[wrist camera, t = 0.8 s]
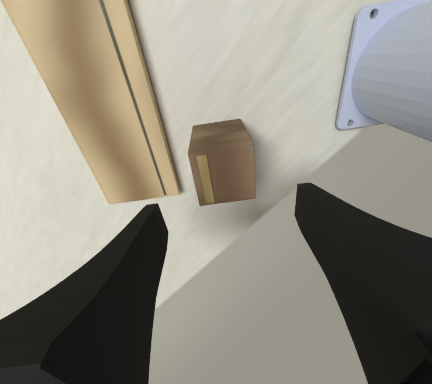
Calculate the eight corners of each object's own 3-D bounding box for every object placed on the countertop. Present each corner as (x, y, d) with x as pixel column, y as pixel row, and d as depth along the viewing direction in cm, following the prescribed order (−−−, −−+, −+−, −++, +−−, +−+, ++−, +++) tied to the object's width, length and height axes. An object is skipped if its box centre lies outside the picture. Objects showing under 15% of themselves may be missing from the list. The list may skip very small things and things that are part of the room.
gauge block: (239, 118, 17) (253, 145, 12) (242, 161, 20) (256, 199, 15) (192, 125, 18) (187, 154, 13) (201, 167, 20) (199, 206, 15)
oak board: (60, -241, 9) (43, -275, 8) (180, 189, 21) (179, 195, 20) (-93, -205, 9) (-126, -234, 8) (112, 198, 21) (108, 204, 20)
